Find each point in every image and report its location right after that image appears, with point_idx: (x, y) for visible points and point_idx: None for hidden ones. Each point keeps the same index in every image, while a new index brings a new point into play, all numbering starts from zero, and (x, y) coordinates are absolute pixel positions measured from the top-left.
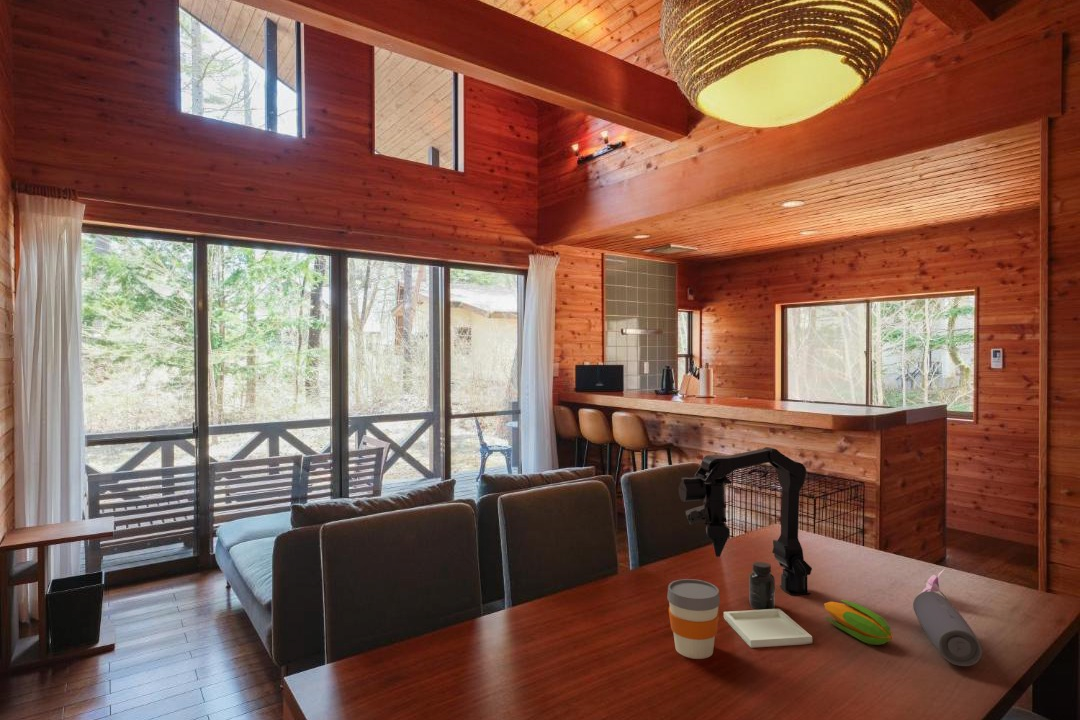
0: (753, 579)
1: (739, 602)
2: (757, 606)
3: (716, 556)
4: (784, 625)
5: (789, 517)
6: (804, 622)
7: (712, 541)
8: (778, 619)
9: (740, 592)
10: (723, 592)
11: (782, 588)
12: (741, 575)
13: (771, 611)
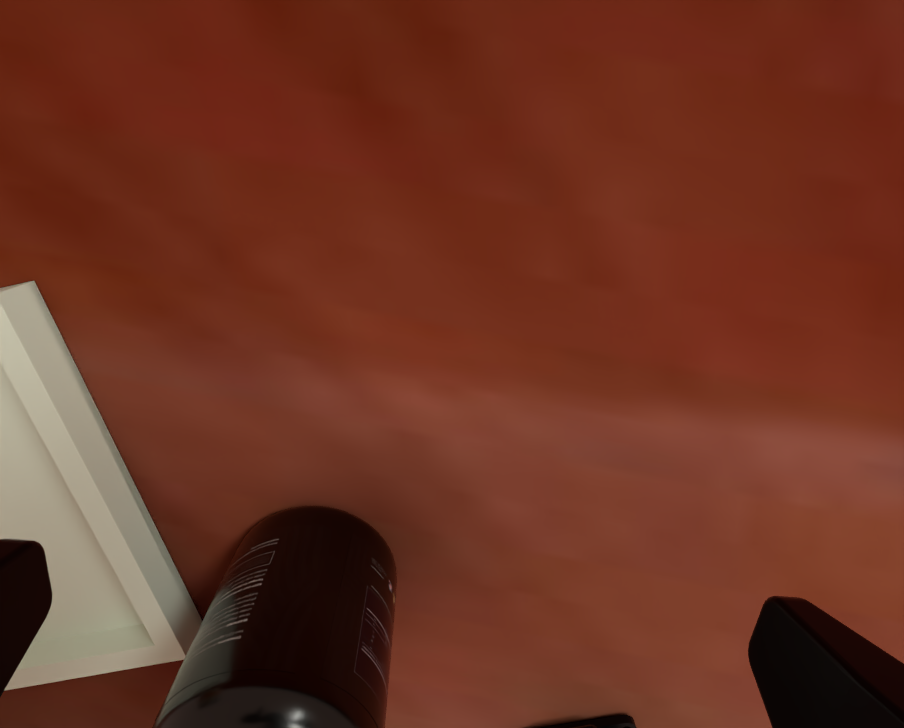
0: (184, 699)
1: (362, 446)
2: (241, 545)
3: (10, 544)
4: None
5: None
6: (141, 708)
7: (846, 675)
8: (111, 609)
9: (545, 487)
10: (543, 370)
11: (595, 721)
12: (862, 552)
13: (140, 608)
